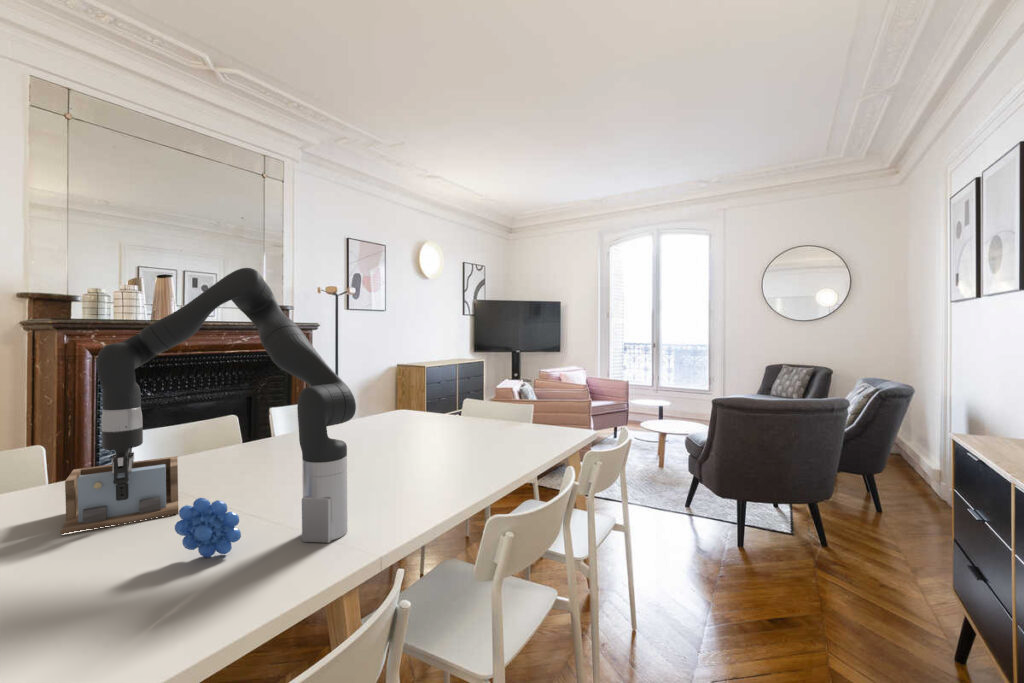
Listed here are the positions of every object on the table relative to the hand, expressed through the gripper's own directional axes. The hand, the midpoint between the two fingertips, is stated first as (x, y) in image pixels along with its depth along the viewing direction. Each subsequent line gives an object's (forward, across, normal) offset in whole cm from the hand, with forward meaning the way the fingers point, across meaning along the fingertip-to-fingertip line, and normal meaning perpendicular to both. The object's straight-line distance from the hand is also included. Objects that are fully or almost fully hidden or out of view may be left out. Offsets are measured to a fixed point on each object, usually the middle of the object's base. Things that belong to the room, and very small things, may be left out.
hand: (124, 494), depth 113 cm
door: (+4, 0, 0) cm, 4 cm away
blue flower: (+6, -34, -15) cm, 38 cm away
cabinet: (+6, +4, 0) cm, 7 cm away
